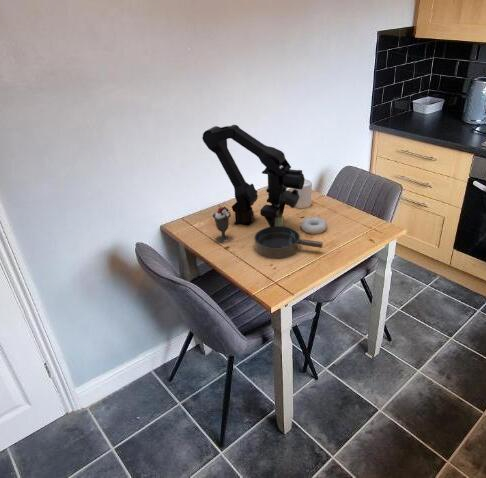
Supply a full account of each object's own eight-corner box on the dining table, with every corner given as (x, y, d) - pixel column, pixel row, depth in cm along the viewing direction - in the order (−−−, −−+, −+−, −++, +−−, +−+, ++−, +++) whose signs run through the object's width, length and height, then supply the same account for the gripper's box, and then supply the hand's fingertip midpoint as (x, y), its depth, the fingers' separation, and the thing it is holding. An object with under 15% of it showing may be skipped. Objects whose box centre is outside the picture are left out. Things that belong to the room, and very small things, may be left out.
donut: (298, 234, 162) (325, 236, 160) (298, 226, 160) (325, 228, 159) (303, 222, 171) (328, 224, 169) (303, 214, 169) (328, 216, 167)
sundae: (218, 245, 156) (214, 208, 149) (212, 237, 161) (208, 201, 154) (235, 241, 159) (232, 204, 151) (228, 233, 164) (225, 197, 156)
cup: (314, 206, 183) (315, 184, 178) (289, 211, 179) (288, 189, 174) (306, 198, 190) (306, 177, 185) (281, 204, 186) (280, 182, 181)
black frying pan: (248, 255, 150) (247, 244, 147) (264, 234, 163) (263, 223, 161) (292, 263, 145) (292, 251, 143) (305, 240, 158) (305, 229, 156)
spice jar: (269, 230, 166) (268, 214, 162) (273, 224, 169) (272, 209, 166) (280, 231, 164) (280, 216, 161) (284, 226, 168) (284, 210, 165)
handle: (297, 245, 150) (297, 240, 149) (299, 242, 151) (299, 237, 150) (321, 249, 147) (321, 244, 146) (322, 246, 149) (322, 241, 148)
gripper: (289, 198, 148) (289, 237, 156) (303, 178, 163) (303, 215, 171) (258, 194, 151) (260, 233, 159) (276, 175, 167) (277, 211, 174)
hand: (276, 223), depth 166 cm, fingers open, 9 cm apart
